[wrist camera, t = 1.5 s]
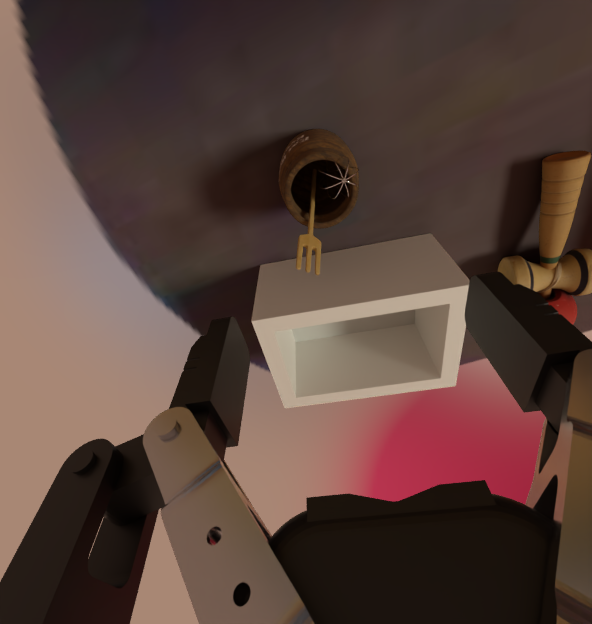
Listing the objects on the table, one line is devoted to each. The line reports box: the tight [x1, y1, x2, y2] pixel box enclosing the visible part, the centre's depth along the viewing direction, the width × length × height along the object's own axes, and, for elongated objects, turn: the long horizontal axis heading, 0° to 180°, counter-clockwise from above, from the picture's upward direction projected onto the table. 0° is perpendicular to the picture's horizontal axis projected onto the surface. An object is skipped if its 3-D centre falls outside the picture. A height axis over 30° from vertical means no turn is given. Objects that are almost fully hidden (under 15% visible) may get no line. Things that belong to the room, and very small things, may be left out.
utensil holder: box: [279, 129, 359, 275], centre depth 22 cm, size 6×6×12 cm
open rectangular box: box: [251, 233, 470, 408], centre depth 31 cm, size 12×17×9 cm
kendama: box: [498, 151, 592, 325], centre depth 30 cm, size 8×6×18 cm
